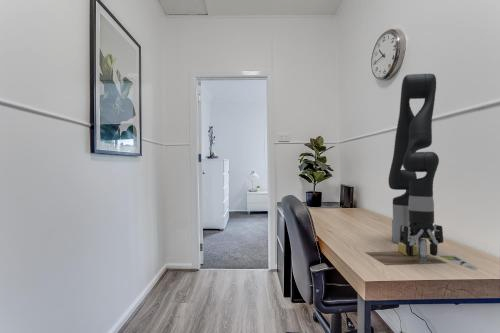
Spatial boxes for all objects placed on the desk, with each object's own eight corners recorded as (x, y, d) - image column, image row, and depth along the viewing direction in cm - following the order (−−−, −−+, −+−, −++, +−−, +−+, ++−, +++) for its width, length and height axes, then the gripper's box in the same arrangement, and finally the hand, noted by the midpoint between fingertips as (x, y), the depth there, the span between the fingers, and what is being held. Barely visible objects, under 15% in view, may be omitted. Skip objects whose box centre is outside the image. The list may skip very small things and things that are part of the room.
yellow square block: (398, 251, 104) (397, 242, 104) (409, 250, 104) (409, 241, 104) (406, 255, 99) (406, 245, 99) (418, 254, 99) (418, 245, 99)
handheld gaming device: (450, 266, 90) (429, 253, 105) (450, 269, 90) (429, 255, 105) (479, 268, 89) (454, 254, 103) (480, 270, 89) (454, 256, 103)
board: (364, 256, 103) (364, 252, 103) (418, 254, 105) (418, 250, 105) (385, 269, 89) (385, 265, 89) (447, 267, 91) (447, 262, 91)
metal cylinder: (415, 263, 94) (415, 238, 94) (422, 263, 95) (422, 238, 95) (421, 266, 92) (420, 240, 92) (428, 266, 92) (428, 240, 92)
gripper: (432, 207, 98) (432, 251, 98) (394, 207, 97) (395, 252, 96) (448, 210, 90) (449, 258, 90) (408, 210, 89) (409, 259, 89)
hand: (421, 255), depth 93 cm, fingers open, 8 cm apart
